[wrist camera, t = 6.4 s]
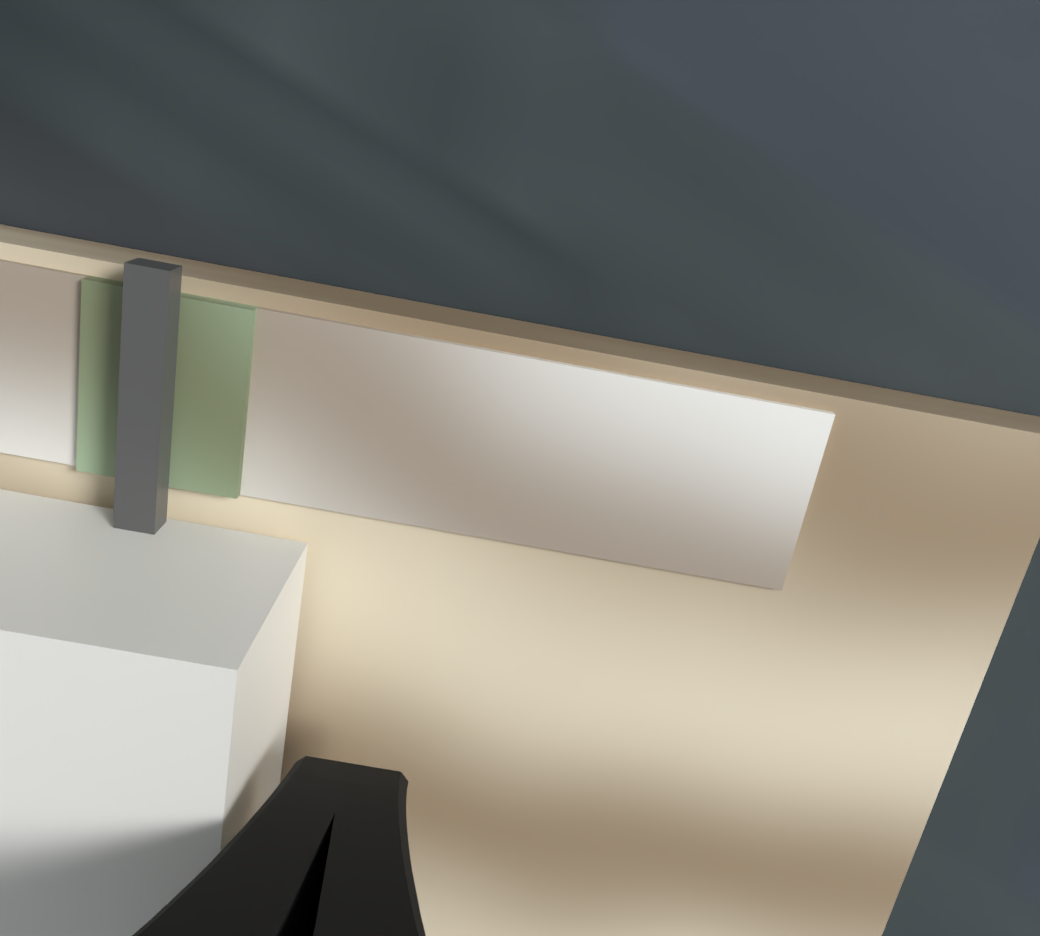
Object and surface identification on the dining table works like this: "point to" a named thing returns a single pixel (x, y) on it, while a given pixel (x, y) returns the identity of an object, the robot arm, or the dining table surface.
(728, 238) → the dining table surface
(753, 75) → the dining table surface
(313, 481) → the bench
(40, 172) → the dining table surface
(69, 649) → the gauge carriage
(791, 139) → the dining table surface
